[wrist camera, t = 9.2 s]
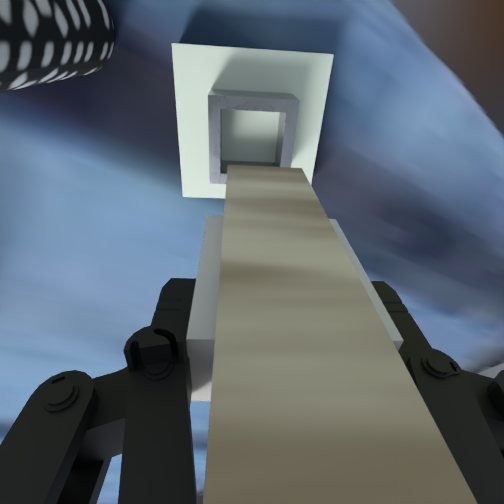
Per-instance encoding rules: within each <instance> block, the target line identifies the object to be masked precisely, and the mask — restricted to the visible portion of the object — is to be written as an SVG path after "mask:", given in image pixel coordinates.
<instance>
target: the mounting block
mask: <svg viewBox="0 0 504 504" xmlns="http://www.w3.org/2000/svg"><path fill="white" fill-rule="evenodd" d="M172 55H173V68H174V82H175V95H176V109H177V123H178V136H179V150H180V163H181V177H182V191H183V197H203V198H225V194H226V184H210V180H209V131H208V93H209V92H210V90H211V89H223V90H240V91H257V92H273V93H290V94H293V95H294V96H295V97H297V98H298V99H299V100H300V102H299V109H298V117H297V125H296V132H295V140H294V147H293V155H292V163H291V168H302V169H303V171H304V173H305V175H306V177H307V179H308V181H309V183H310V185H311V182H312V176H313V170H314V164H315V159H316V153H317V147H318V142H319V136H320V130H321V124H322V119H323V113H324V107H325V101H326V96H327V90H328V84H329V79H330V73H331V67H332V61H333V56H334V54H325V53H312V52H297V51H283V50H269V49H254V48H240V47H225V46H211V45H196V44H182V43H172ZM279 114H280V112H264V111H246V110H228V109H222V160H231V161H254V162H275V154H276V144H277V134H278V124H279Z"/></svg>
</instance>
